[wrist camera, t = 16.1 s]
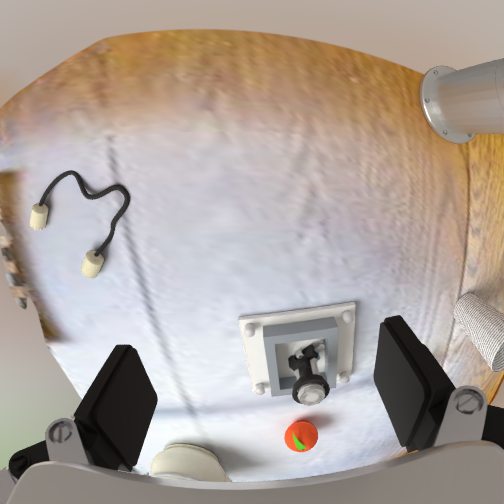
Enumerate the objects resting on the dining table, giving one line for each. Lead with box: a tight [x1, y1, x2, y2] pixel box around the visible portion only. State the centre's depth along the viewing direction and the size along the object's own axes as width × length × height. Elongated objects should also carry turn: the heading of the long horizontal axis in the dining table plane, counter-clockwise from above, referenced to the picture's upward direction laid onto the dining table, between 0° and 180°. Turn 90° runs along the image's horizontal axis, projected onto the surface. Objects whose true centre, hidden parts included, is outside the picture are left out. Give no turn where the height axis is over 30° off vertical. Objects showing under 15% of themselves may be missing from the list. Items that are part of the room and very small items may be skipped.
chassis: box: [238, 302, 356, 397], centre depth 44 cm, size 18×16×4 cm
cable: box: [30, 171, 130, 278], centre depth 38 cm, size 16×16×4 cm
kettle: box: [144, 444, 232, 482], centre depth 47 cm, size 25×18×25 cm
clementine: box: [284, 421, 318, 452], centre depth 50 cm, size 8×7×7 cm
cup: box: [453, 293, 504, 372], centre depth 36 cm, size 8×8×16 cm
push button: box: [288, 341, 330, 406], centre depth 40 cm, size 7×5×10 cm
